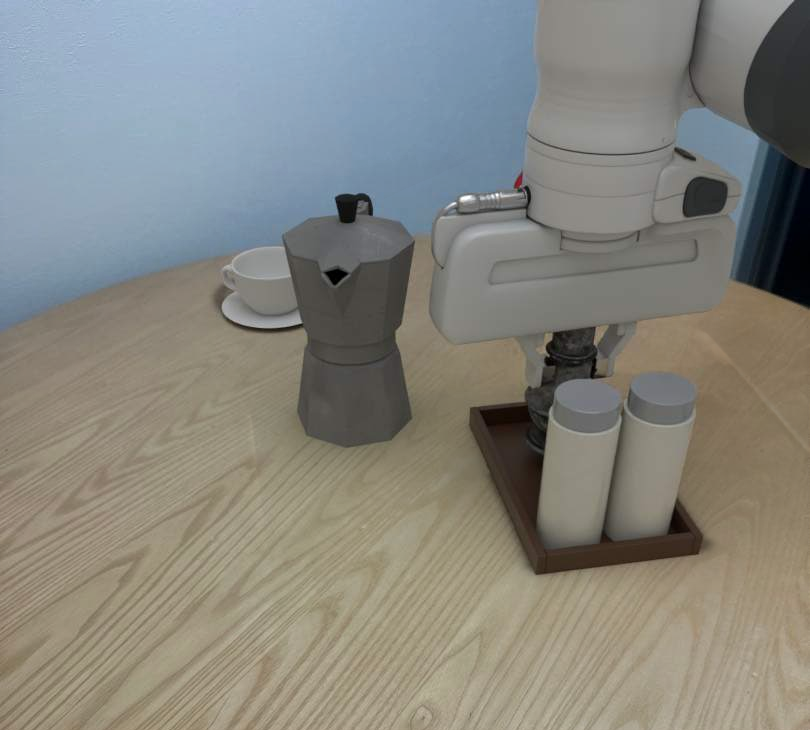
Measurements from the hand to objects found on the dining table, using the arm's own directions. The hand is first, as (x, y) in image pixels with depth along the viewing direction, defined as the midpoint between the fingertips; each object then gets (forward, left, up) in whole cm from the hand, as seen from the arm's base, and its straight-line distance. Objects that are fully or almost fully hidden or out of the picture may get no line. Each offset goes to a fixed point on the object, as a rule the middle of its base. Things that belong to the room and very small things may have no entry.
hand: (568, 379), depth 67 cm
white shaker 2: (-2, +9, -6) cm, 12 cm away
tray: (0, +3, -7) cm, 8 cm away
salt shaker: (0, 0, -5) cm, 5 cm away
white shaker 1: (+2, +9, -6) cm, 12 cm away
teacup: (+19, -30, -7) cm, 36 cm away
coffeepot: (+14, -10, -7) cm, 18 cm away
